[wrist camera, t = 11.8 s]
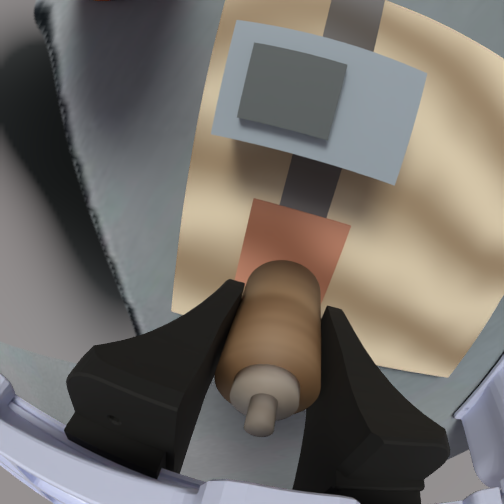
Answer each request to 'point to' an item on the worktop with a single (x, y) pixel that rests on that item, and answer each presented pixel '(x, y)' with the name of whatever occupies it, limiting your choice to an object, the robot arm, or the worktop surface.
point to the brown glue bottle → (273, 347)
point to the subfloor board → (364, 194)
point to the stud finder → (318, 99)
